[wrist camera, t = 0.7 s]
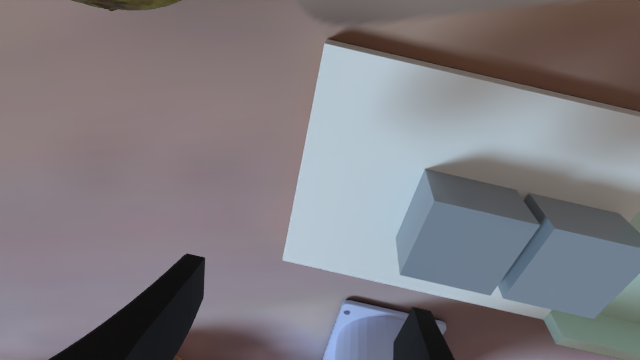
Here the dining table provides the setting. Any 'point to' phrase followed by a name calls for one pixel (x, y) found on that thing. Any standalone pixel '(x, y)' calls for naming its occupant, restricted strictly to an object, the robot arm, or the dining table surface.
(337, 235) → the board
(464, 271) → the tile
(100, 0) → the avocado
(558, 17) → the dining table surface
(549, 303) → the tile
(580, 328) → the tray
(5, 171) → the dining table surface
